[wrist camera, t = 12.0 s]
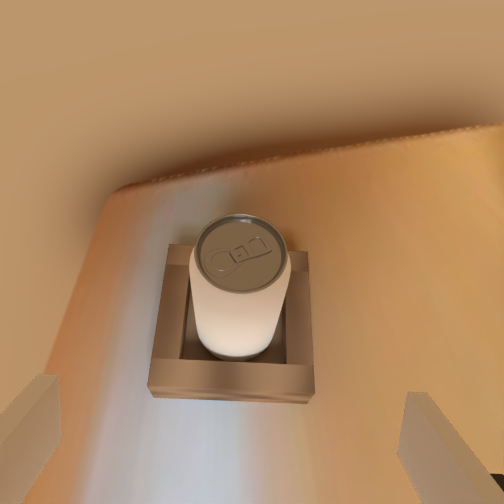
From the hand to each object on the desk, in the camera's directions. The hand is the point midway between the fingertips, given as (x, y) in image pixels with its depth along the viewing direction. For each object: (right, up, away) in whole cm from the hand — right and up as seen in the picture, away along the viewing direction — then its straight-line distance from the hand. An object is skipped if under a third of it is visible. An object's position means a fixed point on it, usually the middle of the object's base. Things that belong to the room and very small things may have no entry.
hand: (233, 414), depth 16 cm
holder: (-1, 0, +20) cm, 21 cm away
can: (-1, 0, +20) cm, 20 cm away
